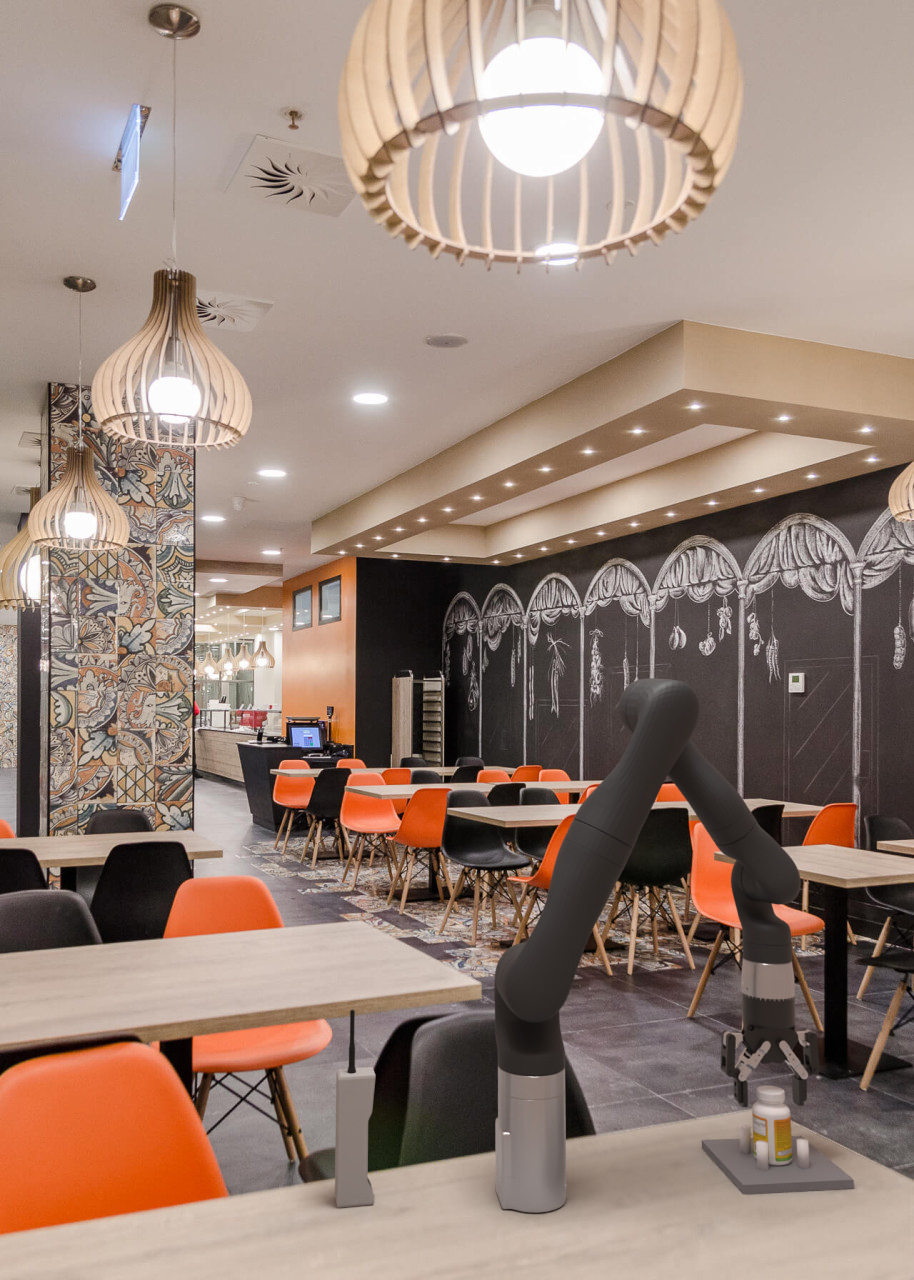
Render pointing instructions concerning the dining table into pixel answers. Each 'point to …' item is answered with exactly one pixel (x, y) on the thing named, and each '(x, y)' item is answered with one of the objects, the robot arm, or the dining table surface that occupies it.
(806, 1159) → the pin holder
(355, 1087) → the vintage mobile phone
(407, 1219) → the dining table surface
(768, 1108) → the supplement bottle
